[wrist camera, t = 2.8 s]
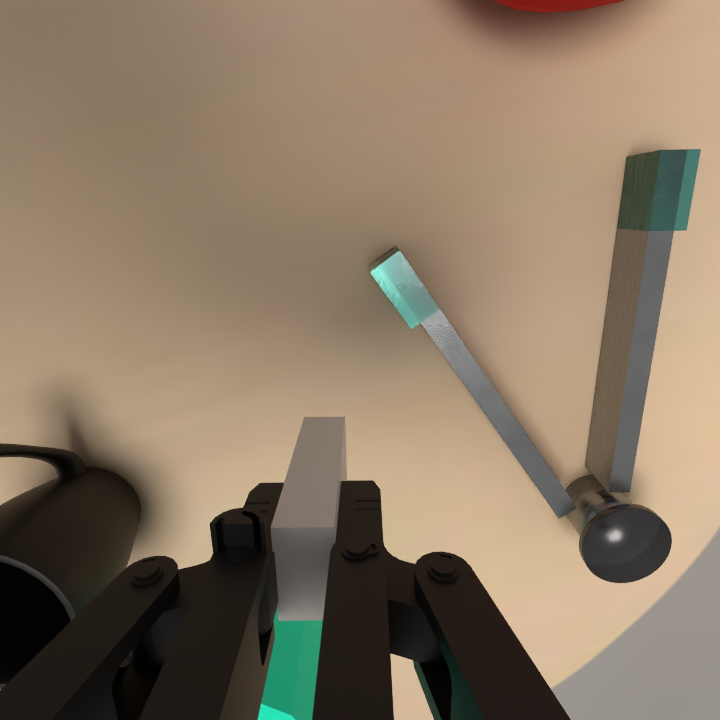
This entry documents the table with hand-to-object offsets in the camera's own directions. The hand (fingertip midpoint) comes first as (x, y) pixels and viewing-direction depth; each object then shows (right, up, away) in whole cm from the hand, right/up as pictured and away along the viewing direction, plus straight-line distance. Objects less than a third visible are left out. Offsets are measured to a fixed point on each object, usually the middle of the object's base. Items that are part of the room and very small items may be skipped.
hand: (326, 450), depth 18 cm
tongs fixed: (+16, +3, +11) cm, 19 cm away
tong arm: (+8, +2, +11) cm, 13 cm away
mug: (-16, -4, +13) cm, 21 cm away
